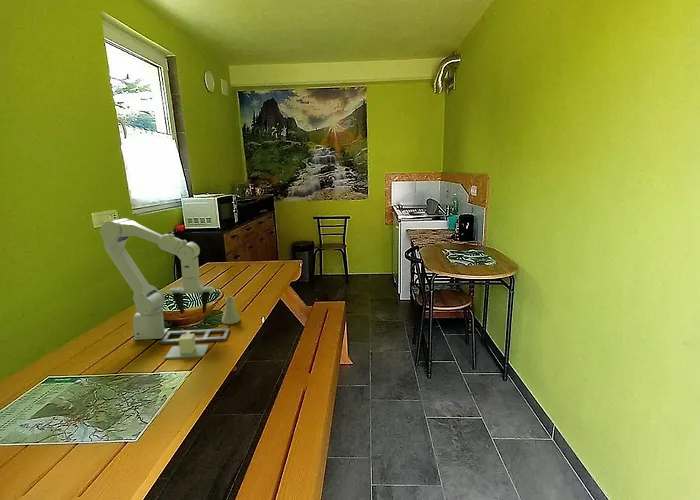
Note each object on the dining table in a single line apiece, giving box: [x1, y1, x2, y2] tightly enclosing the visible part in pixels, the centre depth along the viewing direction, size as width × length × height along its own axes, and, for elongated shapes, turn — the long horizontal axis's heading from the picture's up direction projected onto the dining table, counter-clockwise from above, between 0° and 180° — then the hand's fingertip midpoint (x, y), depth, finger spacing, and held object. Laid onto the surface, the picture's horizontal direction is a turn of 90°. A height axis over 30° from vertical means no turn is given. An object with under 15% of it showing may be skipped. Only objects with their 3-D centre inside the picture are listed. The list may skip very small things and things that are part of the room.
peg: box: [178, 334, 197, 353], centre depth 125 cm, size 4×4×5 cm
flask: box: [220, 296, 242, 325], centre depth 151 cm, size 7×7×10 cm
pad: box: [164, 344, 210, 360], centre depth 125 cm, size 12×8×1 cm, turn 99°
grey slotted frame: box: [159, 327, 231, 345], centre depth 137 cm, size 22×9×1 cm, turn 99°
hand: (193, 312), depth 137 cm, fingers open, 7 cm apart
